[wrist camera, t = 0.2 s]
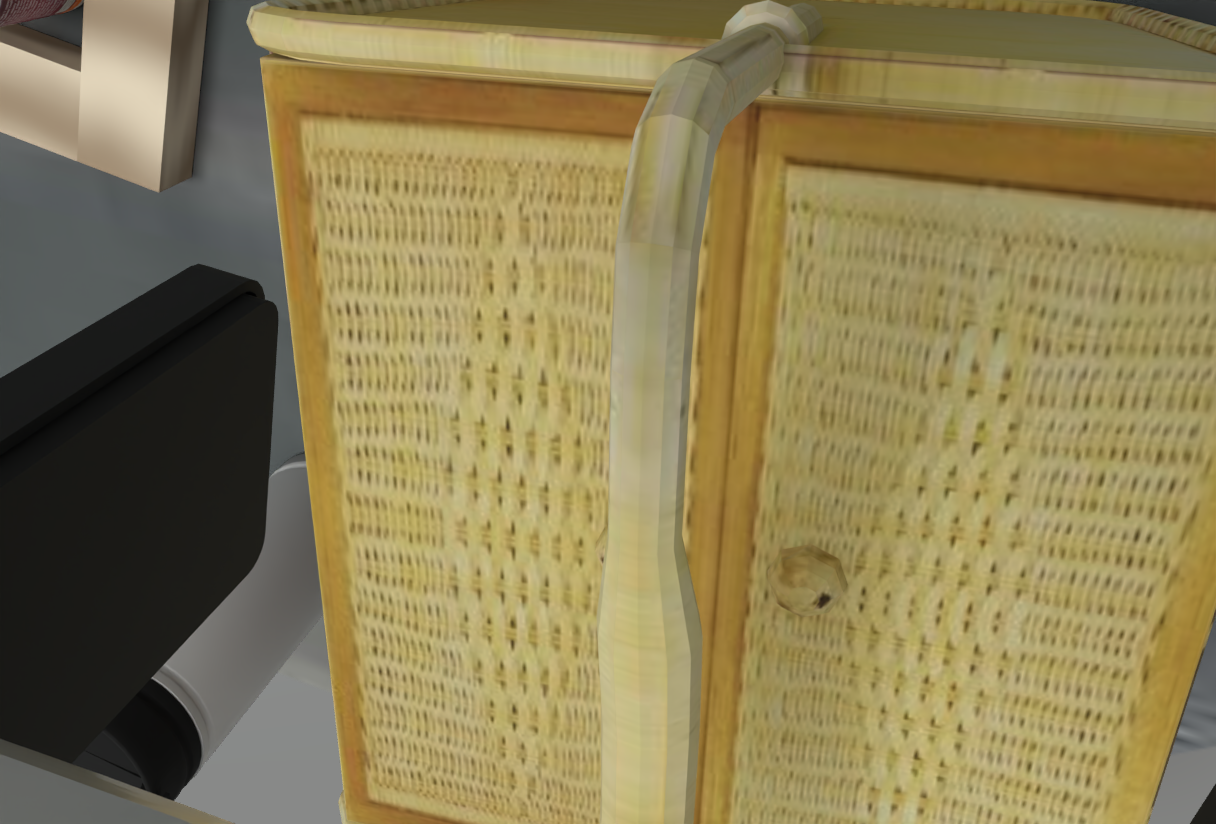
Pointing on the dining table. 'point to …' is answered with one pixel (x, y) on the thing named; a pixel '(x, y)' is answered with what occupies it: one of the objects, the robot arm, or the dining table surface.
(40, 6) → the pill bottle
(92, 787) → the robot arm
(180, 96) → the socket block
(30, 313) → the dining table surface
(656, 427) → the picnic basket
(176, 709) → the travel mug
